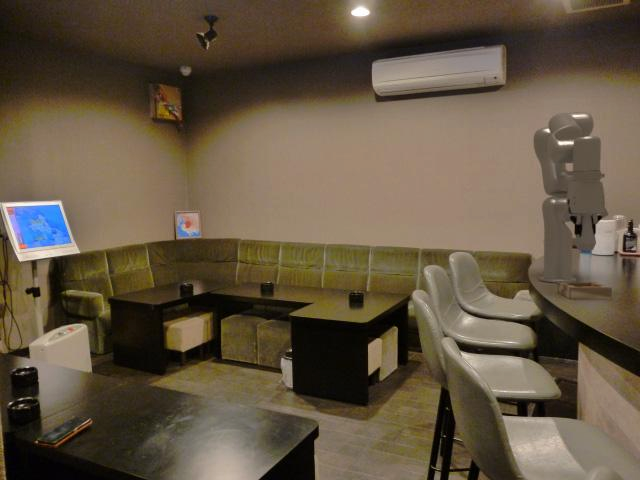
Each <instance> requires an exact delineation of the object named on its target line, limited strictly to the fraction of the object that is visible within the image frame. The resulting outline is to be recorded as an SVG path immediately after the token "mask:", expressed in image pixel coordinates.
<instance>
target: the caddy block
mask: <svg viewBox="0 0 640 480" xmlns="http://www.w3.org/2000/svg"><path fill="white" fill-rule="evenodd" d="M612 293H613V290H612V287H610V286H607V285H604V284H601V283H599V282H595V281H593V282H592V281H578V282H577V281H576V282H558V283H557V294H559V295H561V296H564V297H566V298H568V299H570V300H593V301H595V300H602V301H603V300H605V301H606V300H610V301H611V300H612V298H613V297H612V295H613V294H612Z"/></svg>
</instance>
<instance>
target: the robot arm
mask: <svg viewBox="0 0 640 480" xmlns="http://www.w3.org/2000/svg"><path fill="white" fill-rule="evenodd" d="M547 124H548V126H546V127H541V128H539V129H537V130H535V132H534V134H533V148H534V154H535V156H536V157H537V160H538V161H539V163H540V166H541V167H540V168H541V177H542V184H543V189H544V192H545V194H546V195H547V196H549V197H547V198H545V199H544V200H543V201H542V205H541V206H542V207H541V210H542V216H543V217H542V219H543V228H544V230H543V233H544V235H543V237H544V238H543V240H544V241H543V245H544V246H543V275H540V276H539V277H538V279H539V281H541V282H546V283H556V284H558V282H577V277H574V276H573V272H572V271H573V233H572V230H571V228H569V226H568V225H567V224H566V223H570V222H572V224H573V225H574V230H573V231H574V235H575V236H576V235H578V234H579V237H581V234H582V225H581V215H582V214H585V213H586V212H587V211H591V213H592V214H593V215H592V216H591V217H592V222H593V224H592V228H593V233H595V235H596V232H597V224H598V223H599V222H600V221H601V220H602V219H604V218H606V217H608V216H609V212H608V210H607V208H606V200H605V199H606V198H605V189H604V185H603V181H601V179H603V178H606V176H605V175H606V174H605V173H602V170H601V159H602V158H601V155H602V154H601V151H602V147H601V145H602V140H601V138H600V137H599V136H596V135H595V136H592V135H591V134H592V132H593V129H594V119H593V116H592V115H591V114H590V113H588V112H586V111H585V112H584V111H582V112H581V111H580V112H579V111H578V112H562V113H558V114H555V115H553V116H551V118H550V119H549V121H548V123H547ZM566 164H572V170H568V169H567V166H566Z"/></svg>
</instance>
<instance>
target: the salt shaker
mask: <svg viewBox="0 0 640 480" xmlns="http://www.w3.org/2000/svg"><path fill="white" fill-rule="evenodd" d="M592 215H593V214H592V213H591V211H587V212H586V213H585V214H582V215H581V225H582V234H581V237H579V234H578V235H575V240H574V245H575V247H576V249H577V251H588V252H589V251H591V252H592V251H593V250H594V249H595V246H597V240H596V234H595V233H593V228H592V224H593V222H592V217H591V216H592Z"/></svg>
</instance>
